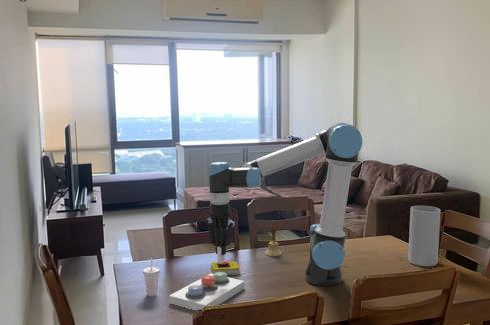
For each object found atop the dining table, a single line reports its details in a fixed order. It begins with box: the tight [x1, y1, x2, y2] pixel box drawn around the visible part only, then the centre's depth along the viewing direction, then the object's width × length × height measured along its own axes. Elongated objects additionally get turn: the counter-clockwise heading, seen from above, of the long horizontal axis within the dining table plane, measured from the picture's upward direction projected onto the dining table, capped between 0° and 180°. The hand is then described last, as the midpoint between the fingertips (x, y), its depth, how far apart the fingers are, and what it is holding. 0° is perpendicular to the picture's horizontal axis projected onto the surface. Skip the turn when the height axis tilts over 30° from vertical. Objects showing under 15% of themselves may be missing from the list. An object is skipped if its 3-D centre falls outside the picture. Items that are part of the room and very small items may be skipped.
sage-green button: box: [213, 272, 228, 282], centre depth 185 cm, size 5×5×2 cm
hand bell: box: [264, 220, 283, 257], centre depth 227 cm, size 8×8×16 cm
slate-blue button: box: [188, 285, 203, 297], centre depth 171 cm, size 5×5×2 cm
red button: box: [200, 274, 215, 286], centre depth 178 cm, size 5×5×2 cm
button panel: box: [168, 273, 245, 311], centre depth 178 cm, size 16×26×3 cm, turn 149°
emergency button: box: [207, 260, 245, 276], centre depth 204 cm, size 9×4×15 cm
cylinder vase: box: [407, 205, 441, 268], centre depth 214 cm, size 12×12×25 cm
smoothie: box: [142, 257, 161, 297], centre depth 179 cm, size 6×6×14 cm
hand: (221, 262), depth 184 cm, fingers closed
